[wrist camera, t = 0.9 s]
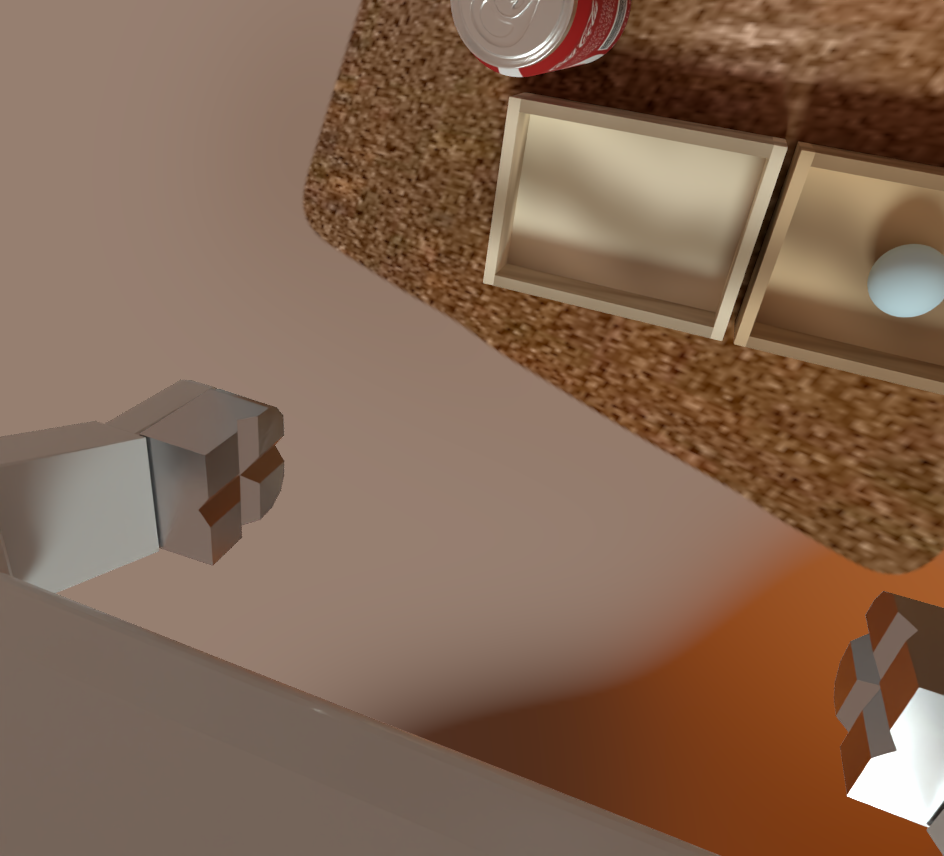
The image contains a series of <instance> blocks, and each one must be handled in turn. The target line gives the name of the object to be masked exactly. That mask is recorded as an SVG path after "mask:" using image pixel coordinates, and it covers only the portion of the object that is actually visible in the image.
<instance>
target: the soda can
mask: <svg viewBox="0 0 944 856" xmlns="http://www.w3.org/2000/svg"><path fill="white" fill-rule="evenodd" d="M450 1H451V11H452V16H453V20H454V23H455V26H456V29H457V31H458V33H459V35H460V37H461V39H462V40H463V42H464V43H465V45H466V46H467V47H468V49H469V50H470V51H471V52H472V53H473V55H474V56H475V57H476V58H477V59H478V60H479V61H480V62H481V63H483V64H484V65H485V66H487V67H488V68H490V69H492V70H493V71H495V72H498V73H500V74H503V75H506V76H512V77H528V76H534V75H539V74H543V73H548V72H552V71H557V70H561V69H566V68H570V67H575V66H580V65H584V64H588V63H590V62H593V61H595V60H597V59H599V58H600V57H602V56H603V55H605V54H606V53H607V52H608V51H609V50H610V49H611V48H612V47H613V46H614V45H615V44H616V42H617V41H618V40H619V38H620V37H621V35H622V33H623V31H624V29H625V27H626V24H627V22H628V18H629V14H630V9H631V0H450Z"/></svg>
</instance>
